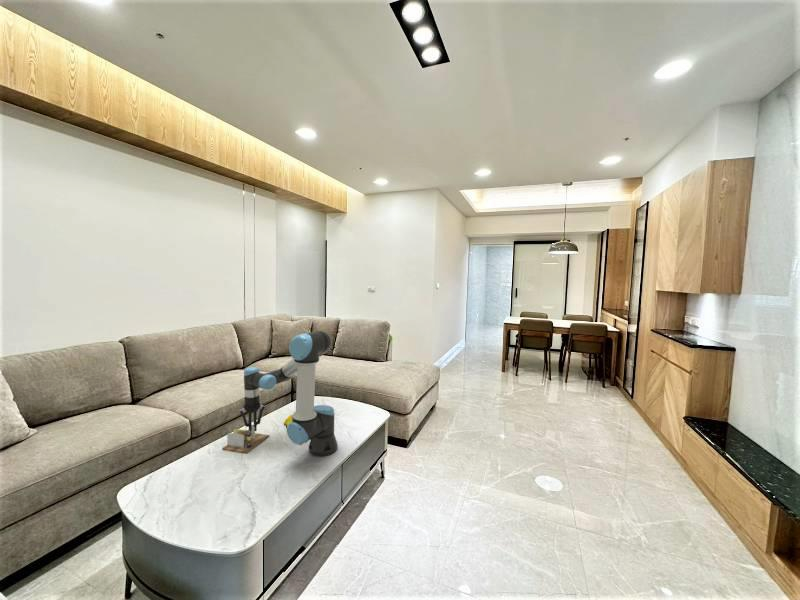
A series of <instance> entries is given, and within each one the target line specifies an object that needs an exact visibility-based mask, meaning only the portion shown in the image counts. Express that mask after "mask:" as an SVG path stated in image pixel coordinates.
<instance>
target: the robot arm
mask: <svg viewBox="0 0 800 600" xmlns="http://www.w3.org/2000/svg"><path fill="white" fill-rule="evenodd" d="M332 344H333V340H332V337H331V336H330V334H329V333H327V332H326V331H323V330H316V331H311V332H306V333H305V332H304V333H301V334H298V335H297V334H296V336H294V337H293V338H292V339H291V341H290V343H289V346H288V347H289V349H288V350H289V354H290V356H291V359H290V360H289V361H288V362H286V364H284V365H283V366H282V367H280V368H279V369H276V370H272V371H270V372H269V371H268V372H266V373H264V372H263V373H262V372H260V369H259V367H257V366H250V367H247V368H245V369H244V370H243V388H244V391H243V393H244V406H243V408H241V409H239V410H238V411H239V414H241V416H242V419H243V423H244V425H245V428H248V430H251V432H252V438H255V433H256V432H257V429H258V427H257V426H258V425H260V424H261V422H262V416H263V412H264V410H265V405H263V404H261V402H260V389H262V390H273V388H274V387H275V386H276V385H279V384H281V383H285V382H288V381H290V380H292V379H293V378H294V377H295V374H296V392H295V393H296V395H295V412H293V413H292V414H291V415H292V422H290V423H289V425H288V426H287V427H286V434H287V435H286V436H287V437H288V439H289V440H290V441H291V442H292V443H293V444H294V445H297V446H302V445H303V444H306V443H308V442H309V444H308V453H309V454H310V455H312V456H314V457H326V456H330V455H333V454H334V453H335V452H337V450H338V448H339V447H338V441H337V438H336V436H335V409H334V407H332V406H331V405H327V404H320V405H315V392H316V389H315V388H316V368H317V367H316V366H317V364H318V363H319V362H320V357H322V356H323V355H325V354H326V353H327V352H328V351H330V349H331V347H332ZM258 410H259V412H258ZM245 411H246V412H247V417H248V420H247V418H246V415H245ZM257 412H258V417H257ZM252 414H253V417H252ZM252 418H253V423H252Z"/></svg>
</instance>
